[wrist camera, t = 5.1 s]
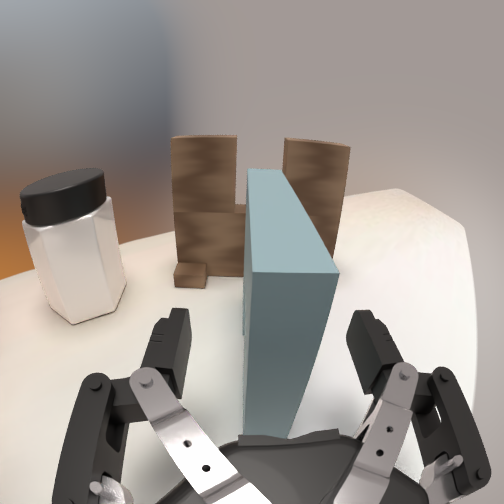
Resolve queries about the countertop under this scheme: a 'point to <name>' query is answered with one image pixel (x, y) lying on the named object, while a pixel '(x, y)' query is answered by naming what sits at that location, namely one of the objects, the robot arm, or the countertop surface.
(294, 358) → the teal rectangular panel
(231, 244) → the brown wooden u-shaped piece
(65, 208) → the jar
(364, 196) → the countertop surface
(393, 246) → the countertop surface
